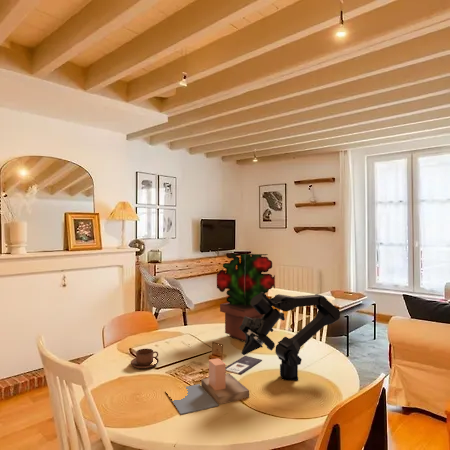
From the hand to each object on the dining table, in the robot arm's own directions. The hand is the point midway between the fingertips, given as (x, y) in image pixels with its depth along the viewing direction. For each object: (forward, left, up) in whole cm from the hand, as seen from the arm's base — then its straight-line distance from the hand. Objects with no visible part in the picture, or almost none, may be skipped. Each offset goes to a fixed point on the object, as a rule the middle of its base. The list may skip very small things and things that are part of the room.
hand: (242, 354), depth 142 cm
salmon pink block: (+9, +5, -10) cm, 15 cm away
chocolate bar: (0, -22, -13) cm, 26 cm away
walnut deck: (+7, +4, -13) cm, 15 cm away
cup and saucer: (+43, -19, -13) cm, 49 cm away
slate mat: (+18, +10, -13) cm, 24 cm away
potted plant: (0, -61, -13) cm, 62 cm away
